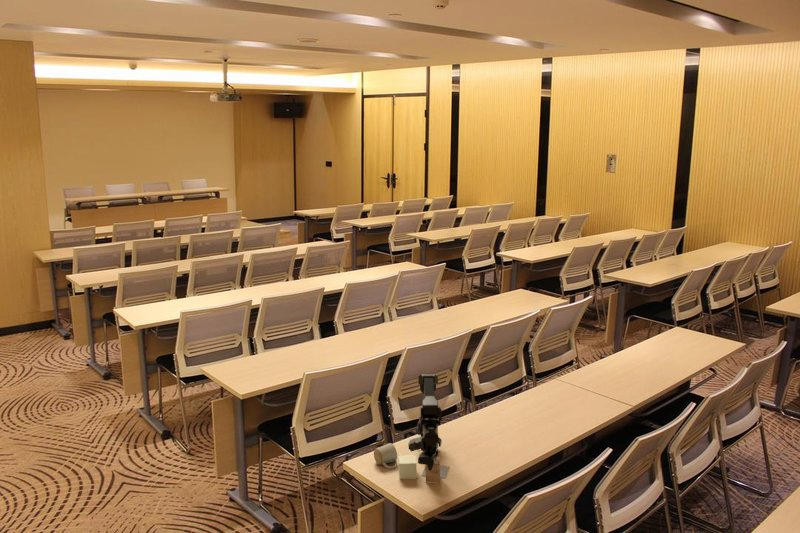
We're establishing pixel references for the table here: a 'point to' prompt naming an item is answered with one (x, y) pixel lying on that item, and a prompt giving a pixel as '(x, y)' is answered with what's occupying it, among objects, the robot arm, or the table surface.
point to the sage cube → (407, 466)
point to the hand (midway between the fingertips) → (430, 470)
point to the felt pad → (442, 471)
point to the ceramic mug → (386, 455)
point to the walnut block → (433, 472)
